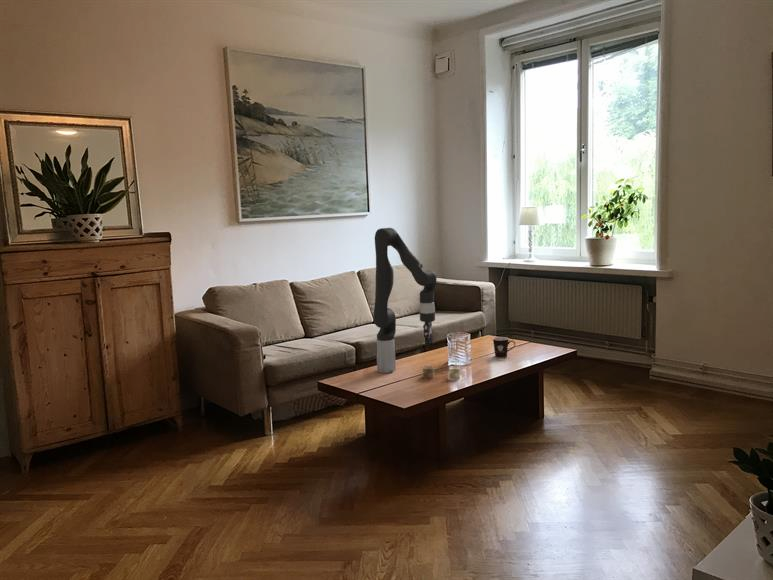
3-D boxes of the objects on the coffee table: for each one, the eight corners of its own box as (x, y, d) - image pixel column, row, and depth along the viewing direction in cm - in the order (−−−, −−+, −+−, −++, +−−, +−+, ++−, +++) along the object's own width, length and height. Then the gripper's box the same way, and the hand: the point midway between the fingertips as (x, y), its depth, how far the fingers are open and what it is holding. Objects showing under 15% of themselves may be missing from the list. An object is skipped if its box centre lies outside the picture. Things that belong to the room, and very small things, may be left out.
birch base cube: (449, 378, 310) (449, 369, 309) (450, 376, 315) (450, 366, 314) (459, 379, 309) (459, 369, 308) (460, 376, 314) (460, 366, 313)
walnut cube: (423, 378, 312) (422, 369, 312) (424, 375, 317) (424, 366, 317) (433, 378, 311) (432, 369, 311) (434, 376, 316) (434, 366, 316)
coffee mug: (490, 356, 353) (490, 339, 352) (498, 353, 360) (498, 336, 358) (508, 359, 346) (508, 341, 344) (516, 356, 352) (516, 338, 351)
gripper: (421, 308, 317) (422, 340, 320) (417, 314, 304) (418, 346, 306) (436, 308, 316) (437, 340, 318) (433, 313, 302) (434, 346, 305)
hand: (428, 343), depth 312 cm, fingers open, 8 cm apart
